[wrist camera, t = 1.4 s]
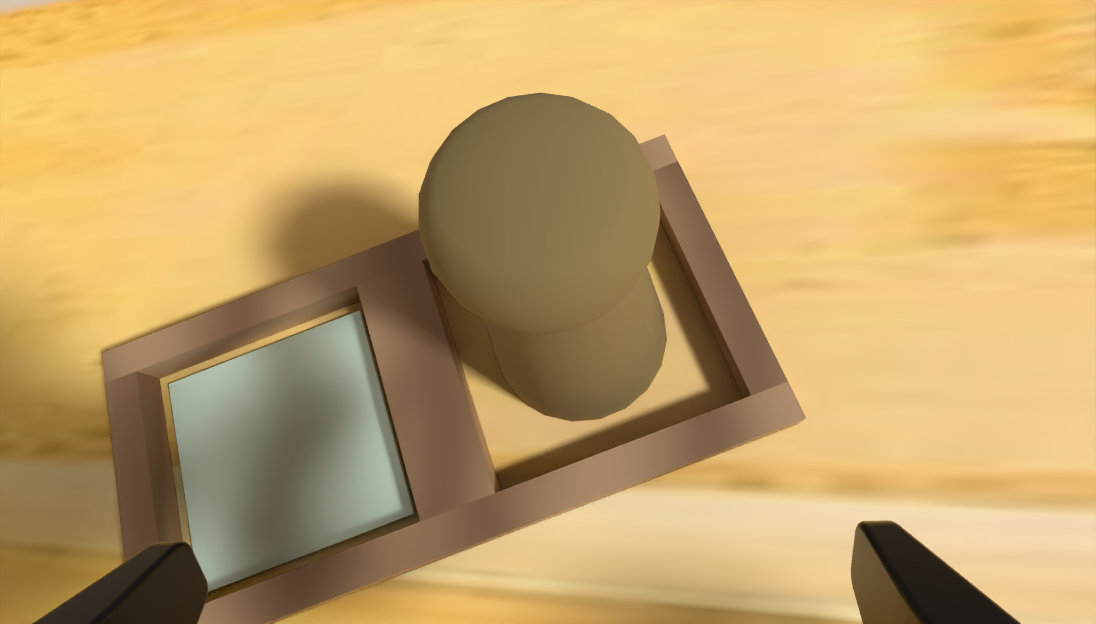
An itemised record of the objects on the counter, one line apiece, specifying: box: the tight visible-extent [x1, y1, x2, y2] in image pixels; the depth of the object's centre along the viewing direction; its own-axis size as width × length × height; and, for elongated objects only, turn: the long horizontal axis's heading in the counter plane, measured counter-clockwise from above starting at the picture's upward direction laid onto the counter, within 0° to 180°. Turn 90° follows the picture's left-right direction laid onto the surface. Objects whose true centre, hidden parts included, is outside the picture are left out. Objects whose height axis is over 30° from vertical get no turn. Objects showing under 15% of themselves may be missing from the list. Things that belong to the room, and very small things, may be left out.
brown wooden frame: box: [102, 135, 806, 624], centre depth 23 cm, size 22×11×1 cm, turn 109°
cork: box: [419, 93, 667, 421], centre depth 18 cm, size 6×6×11 cm
